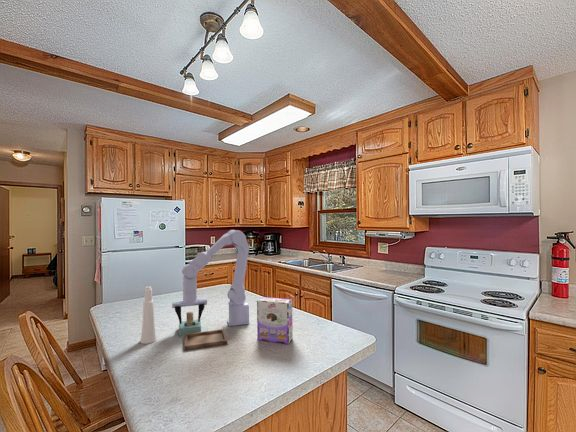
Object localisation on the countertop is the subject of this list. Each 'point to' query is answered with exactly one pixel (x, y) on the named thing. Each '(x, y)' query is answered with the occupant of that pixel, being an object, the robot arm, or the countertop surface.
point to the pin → (189, 318)
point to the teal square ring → (189, 328)
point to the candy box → (274, 320)
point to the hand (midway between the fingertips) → (189, 322)
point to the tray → (205, 339)
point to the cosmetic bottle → (148, 319)
